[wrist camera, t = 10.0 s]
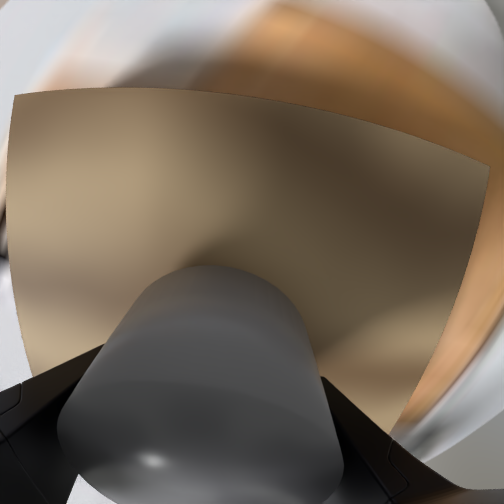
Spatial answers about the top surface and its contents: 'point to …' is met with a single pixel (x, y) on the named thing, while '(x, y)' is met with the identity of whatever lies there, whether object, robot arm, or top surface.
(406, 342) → the lid
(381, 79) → the top surface
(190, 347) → the grey domed cylinder
